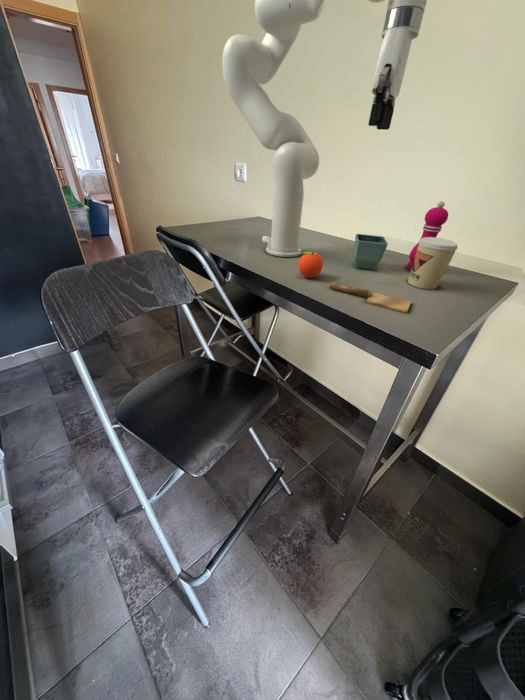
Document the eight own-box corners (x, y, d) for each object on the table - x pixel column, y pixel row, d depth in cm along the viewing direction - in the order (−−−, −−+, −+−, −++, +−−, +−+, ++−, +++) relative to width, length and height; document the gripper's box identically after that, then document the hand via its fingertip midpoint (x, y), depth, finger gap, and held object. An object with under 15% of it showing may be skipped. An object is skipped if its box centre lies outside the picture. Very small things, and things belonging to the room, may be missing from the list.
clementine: (290, 277, 81) (293, 252, 77) (296, 270, 86) (299, 246, 82) (318, 282, 79) (322, 257, 75) (322, 275, 84) (327, 250, 80)
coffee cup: (400, 277, 86) (414, 235, 79) (430, 279, 86) (447, 237, 79) (412, 289, 78) (429, 244, 72) (446, 291, 79) (466, 247, 72)
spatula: (326, 291, 74) (327, 285, 73) (333, 284, 78) (334, 278, 77) (406, 313, 66) (409, 306, 65) (410, 303, 71) (412, 297, 69)
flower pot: (379, 273, 88) (388, 243, 83) (350, 269, 89) (357, 240, 84) (376, 264, 95) (384, 236, 90) (349, 261, 96) (355, 233, 91)
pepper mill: (401, 269, 92) (424, 200, 81) (409, 264, 97) (432, 198, 85) (424, 275, 89) (452, 204, 77) (431, 270, 93) (459, 202, 82)
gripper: (390, 40, 69) (371, 130, 78) (375, 13, 56) (355, 124, 66) (423, 37, 66) (399, 130, 76) (416, 8, 53) (388, 124, 63)
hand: (379, 127), depth 71 cm, fingers open, 9 cm apart
